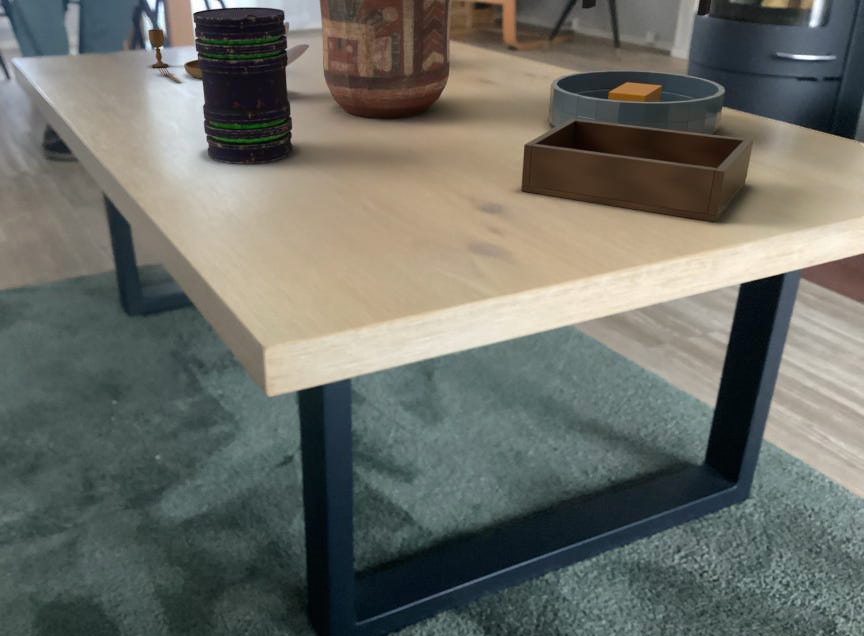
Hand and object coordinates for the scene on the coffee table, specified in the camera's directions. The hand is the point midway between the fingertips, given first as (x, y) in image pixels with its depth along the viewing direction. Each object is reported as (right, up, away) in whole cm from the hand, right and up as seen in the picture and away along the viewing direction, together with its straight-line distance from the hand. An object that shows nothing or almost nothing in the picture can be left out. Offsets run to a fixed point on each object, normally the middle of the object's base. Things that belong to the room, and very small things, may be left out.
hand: (644, 11), depth 102 cm
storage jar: (-46, -17, -3) cm, 49 cm away
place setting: (-59, +8, +44) cm, 74 cm away
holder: (-6, -24, -16) cm, 30 cm away
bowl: (0, -12, +6) cm, 14 cm away
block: (0, -11, +6) cm, 13 cm away
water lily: (-48, -3, +24) cm, 54 cm away
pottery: (-30, -7, +17) cm, 35 cm away
